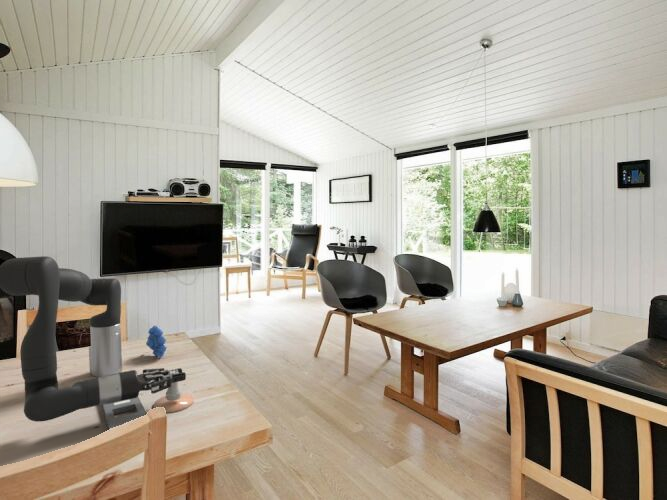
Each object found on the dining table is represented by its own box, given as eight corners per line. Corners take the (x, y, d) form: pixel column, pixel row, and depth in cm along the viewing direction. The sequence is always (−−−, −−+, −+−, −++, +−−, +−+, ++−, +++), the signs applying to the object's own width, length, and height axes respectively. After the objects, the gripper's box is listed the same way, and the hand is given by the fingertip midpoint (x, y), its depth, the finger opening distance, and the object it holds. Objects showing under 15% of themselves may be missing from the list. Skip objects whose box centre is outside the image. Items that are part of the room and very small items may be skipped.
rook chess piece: (168, 394, 118) (167, 368, 118) (183, 394, 118) (183, 368, 118) (163, 401, 114) (162, 374, 113) (179, 400, 114) (178, 373, 113)
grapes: (139, 355, 157) (138, 325, 156) (156, 351, 162) (155, 322, 161) (153, 362, 149) (152, 331, 149) (170, 357, 155) (169, 327, 154)
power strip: (98, 392, 123) (98, 386, 123) (130, 385, 128) (130, 379, 128) (111, 435, 99) (110, 427, 99) (150, 424, 104) (149, 417, 104)
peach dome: (144, 409, 112) (144, 407, 112) (170, 393, 123) (170, 391, 123) (178, 414, 110) (178, 412, 110) (201, 397, 120) (201, 395, 120)
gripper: (121, 382, 101) (190, 368, 111) (113, 365, 113) (177, 354, 123) (122, 411, 102) (190, 394, 112) (114, 391, 113) (177, 378, 123)
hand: (183, 373), depth 117 cm, fingers closed on rook chess piece, 3 cm apart
